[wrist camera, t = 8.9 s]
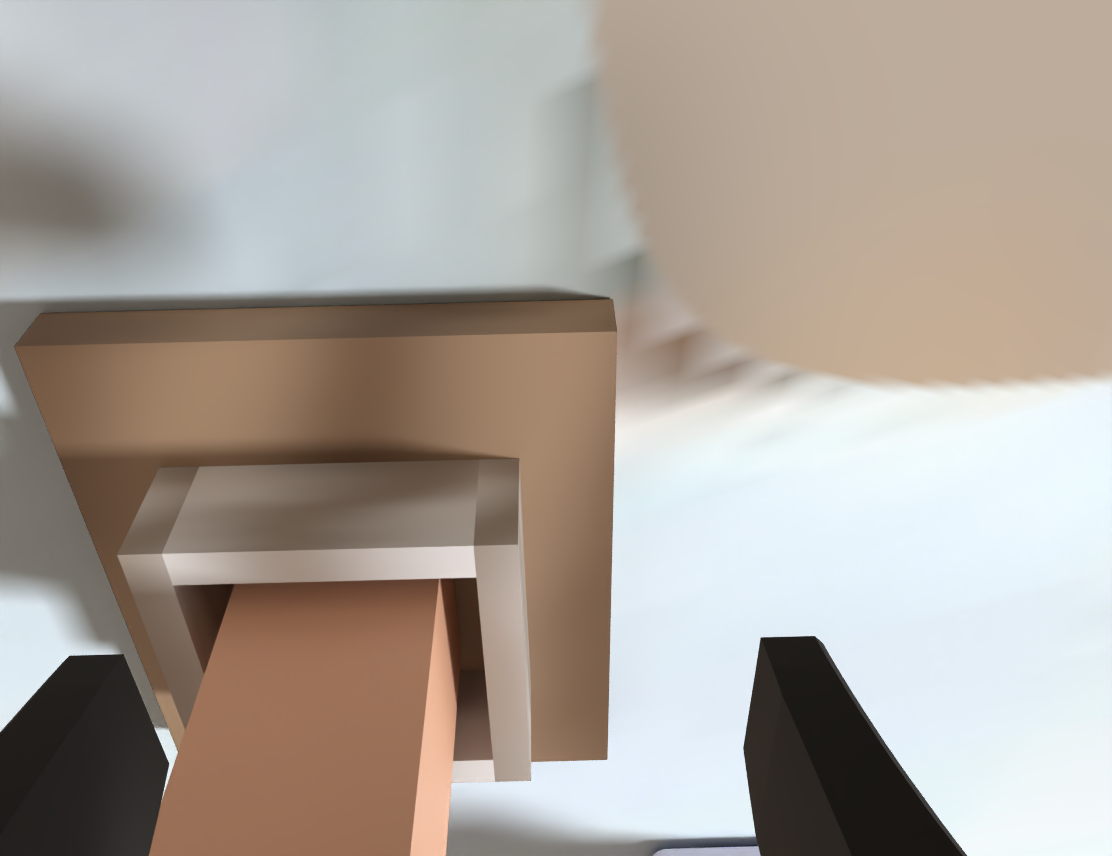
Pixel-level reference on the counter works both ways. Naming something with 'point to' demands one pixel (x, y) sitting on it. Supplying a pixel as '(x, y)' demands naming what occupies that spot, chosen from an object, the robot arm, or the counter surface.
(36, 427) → the counter surface
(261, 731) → the peg
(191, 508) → the socket board
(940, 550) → the counter surface
